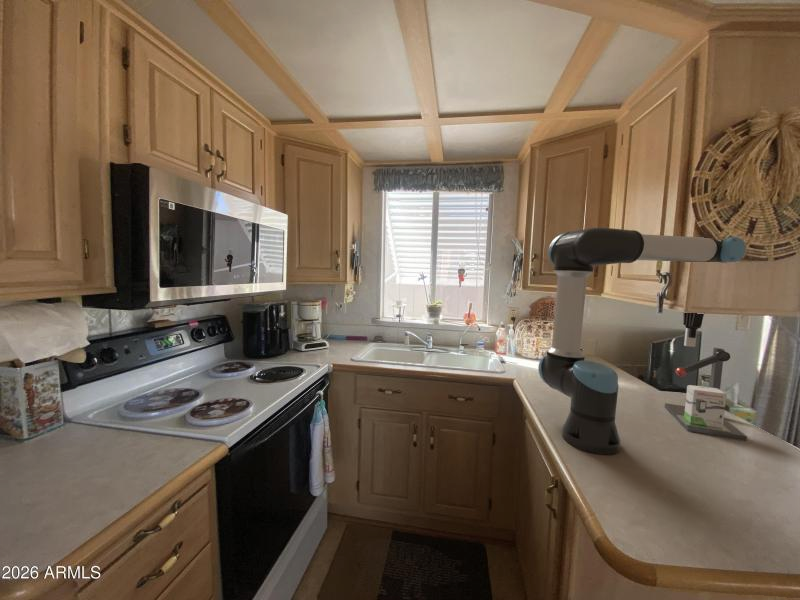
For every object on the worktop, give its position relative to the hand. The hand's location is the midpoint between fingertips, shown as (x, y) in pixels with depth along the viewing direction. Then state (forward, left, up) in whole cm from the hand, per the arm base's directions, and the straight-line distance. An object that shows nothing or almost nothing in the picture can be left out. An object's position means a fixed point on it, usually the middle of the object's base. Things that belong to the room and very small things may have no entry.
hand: (689, 346), depth 116 cm
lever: (0, -5, -8) cm, 9 cm away
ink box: (-12, -1, -24) cm, 27 cm away
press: (-6, -3, -26) cm, 26 cm away
